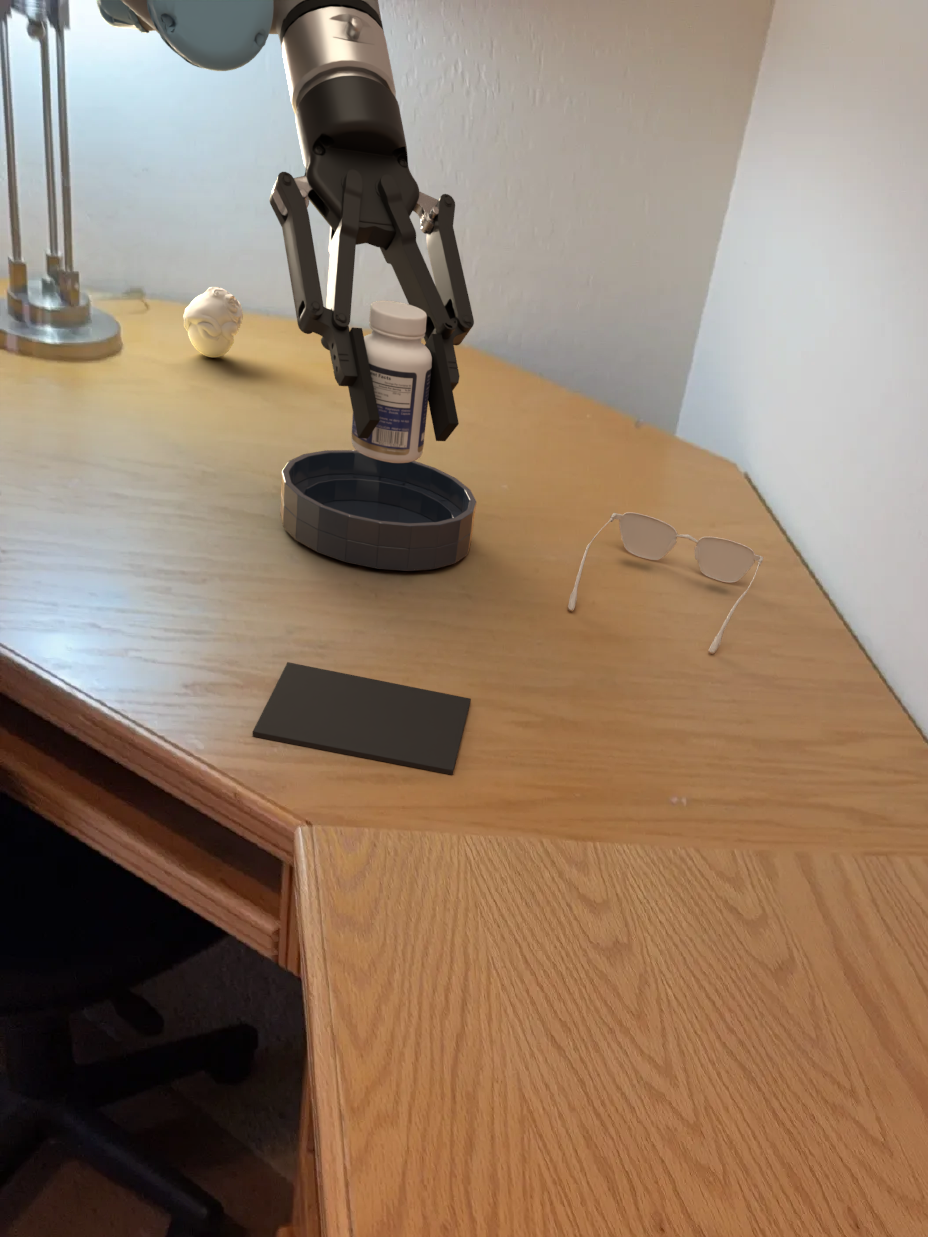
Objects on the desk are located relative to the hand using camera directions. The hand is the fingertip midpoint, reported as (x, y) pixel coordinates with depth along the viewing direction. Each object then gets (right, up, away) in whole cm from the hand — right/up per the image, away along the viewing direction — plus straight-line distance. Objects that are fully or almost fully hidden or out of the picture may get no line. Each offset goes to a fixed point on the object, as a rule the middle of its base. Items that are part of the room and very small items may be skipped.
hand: (408, 430), depth 93 cm
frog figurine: (-30, +34, +55) cm, 71 cm away
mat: (-3, -21, 0) cm, 21 cm away
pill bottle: (-2, 0, +4) cm, 5 cm away
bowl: (-6, +2, +25) cm, 26 cm away
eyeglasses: (+20, -3, +27) cm, 34 cm away
